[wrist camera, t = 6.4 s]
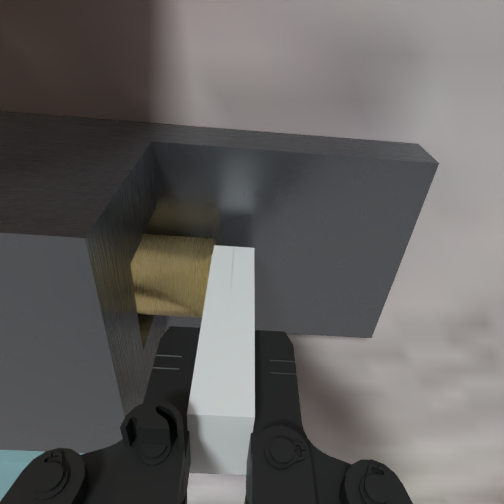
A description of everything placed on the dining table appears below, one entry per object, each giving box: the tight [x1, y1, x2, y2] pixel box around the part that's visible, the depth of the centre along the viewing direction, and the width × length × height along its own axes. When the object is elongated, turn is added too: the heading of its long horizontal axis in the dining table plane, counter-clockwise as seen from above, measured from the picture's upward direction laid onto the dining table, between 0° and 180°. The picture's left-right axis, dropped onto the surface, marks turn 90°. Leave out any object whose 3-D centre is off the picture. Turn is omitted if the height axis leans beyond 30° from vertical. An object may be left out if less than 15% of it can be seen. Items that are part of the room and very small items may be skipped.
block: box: [0, 111, 439, 453], centre depth 13 cm, size 19×9×8 cm, turn 86°
